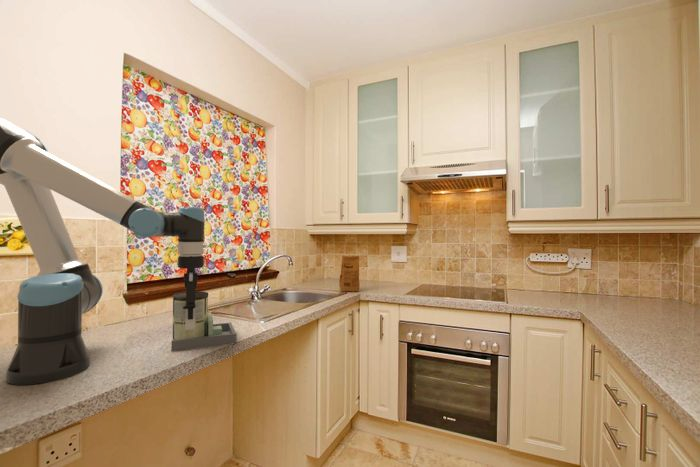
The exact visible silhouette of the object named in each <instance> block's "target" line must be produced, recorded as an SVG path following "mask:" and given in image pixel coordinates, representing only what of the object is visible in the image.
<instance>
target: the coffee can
mask: <svg viewBox="0 0 700 467" xmlns="http://www.w3.org/2000/svg"><path fill="white" fill-rule="evenodd" d="M188 304H190V303H188ZM195 304H196V306H195V329H193V330H185V309H183V306H185V305H186V291H183V292H177V293H174V294H172V339H171V341H172V340H176V339H185V338H195V337H204V336H208V335H207V334H208V333H207V330H208V312H209V310H208V309H209V292H207V291H199V290H198V291H196V290H195Z"/></svg>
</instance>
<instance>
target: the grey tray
mask: <svg viewBox="0 0 700 467" xmlns="http://www.w3.org/2000/svg"><path fill="white" fill-rule="evenodd" d="M213 326H221V327H222V335H213V336H204V337H195V338H185V339H176V340H172V339H171V350H170V351H171V352H176V351H182V350H183V351H185V350H193V349H200V348H201V349H202V348H209V347H217V346H225V345H233V344H237V333H236V331H235V328H234V325H233V322H222V323H213Z"/></svg>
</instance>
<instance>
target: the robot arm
mask: <svg viewBox="0 0 700 467" xmlns="http://www.w3.org/2000/svg"><path fill="white" fill-rule="evenodd" d="M0 185H3V186H4V188H5V191H6V193H7V195H8V197H9V200H10V203H11V204H12V207H13V210H14V212H15V214H16V217H17V219H18V221H19V223H20V226H21V228H22V231H23V233H24V235H25V237H26V240H27V242H28V244H29V246H30V249H31V251H32V254H33V256H34V259H35V261H36V263H37V266H38V268H39V272H38V273H37V275H36V276H32V277H29V278H26V279H25V280H23V281H22V282H21V283H20V284H19V288H18V294H17V300H18V301H17V302H18V304H17V306H18V307H17V308H18V309H17V310H18V311H17V312H18V313H17V346H16V348H15V351H14V352H13V355H12V357H11V360H10V362H9V365H8V367H7V369H6V374H5V377H6V378H5V380H6V381H5V382H6V383H8V384H11V385H18V386H19V385H20V386H21V385H22V386H24V385H25V386H26V385H36V384H42V383H49V382H52V381H57V380H61V379H64V378H68V377H71V376H73V375H76V374H79V373H81V372H82V371H83V372H84V370H86V369H87V368H88V367H89V366H90V361H91V360H90V359H91V358H90V353H89V350H88V348H87V346H86V344H85V341H84V338H83V335H82V329H83V327H82V326H83V323H82V322H83V314H85V313H88V312H89V311H91V310H92V309H94V307H95V306H96V305H97V304H98V303H99V301H100V300H101V298H102V296H103V290H104V289H103V284H102V282H101V280H100V279H99V278H98V276H95V275H94V274H93V273H92V270H91V268H90V265H89V264H88V262H86V261H84V260H82V259H80V258H79V256H78V252H77V251H76V248H75V246H74V243H73V241H72V239H71V236H70V234H69V232H68V229H67V227H66V224H65V221H64V220H63V217H62V214H61V212H60V210H59V207H58V205H57V203H56V200H55V196H54V194H53V193H52V191H53V192H55V193H57V194H59V195H61V196H63V197H64V198H67V199H68V200H70V201H73V202H74V203H77V204H78V205H81V206H83V207H84V208H86V209H88V210H91V211H93V212H95V213H96V214H99V215H101V216H103V217H105V218H106V219H109V220H111V221H112V222H114V223H116V224H118V225H120V226H122V227H124V228H126V229H128V230H130V231H131V232H132V233H133V235H134V236H136V237H141V238H147V239H149V238H154V237H158V238H160V237H162V238H163V237H173V238H175V237H177V238H178V241H177V255H179V256H178V257H177V268H179V269H182V270H183V269H186V272H184V274H183V280H184V288H185V290H186V291H185V292H186V305H185V306H183V309H185V330H193V329H195V306H196V304H195V291H196V288H197V285H198V278H199V274H198V272H196V269H201V268H204V266H205V256H204V254H205V248H207V244H205V224H206V223H205V210H204V209H203V208H202V207H199V206H180V207H178V210H177V212H162V211H160V212H159V211H157V210H155V209H153V208H151V207H149V206H147V205H145V204H144V203H142V202H140V201H138V200H136V199H134V197H133V198H132V197H131V196H129V195H127V194H125V193H124V192H121V191H120V190H118V189H116V188H114V187H112V186H111V185H109V184H106V183H105V182H103V181H101V180H100V179H97V178H96V177H93V176H92V175H90V174H88V173H86V172H84V171H82V170H81V169H79V168H77V167H76V166H73V165H71V164H70V163H68V162H66V161H65V160H63V159H60V158H58V157H57V156H55V155H53V154H52V153H49V151H48V148H47V146H46V145H45V144H44V143H43V142H42V141H41V140H40V138H38V137H37V136H36V135H34V134H33V133H31V132H29V131H27V130H24V129H22V128H20V127H19V126H17V125H15V124H13V123H12V122H11V121H8V120H6V119H4V118H2V117H0ZM188 303H190V304H188Z"/></svg>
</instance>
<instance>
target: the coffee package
mask: <svg viewBox="0 0 700 467" xmlns="http://www.w3.org/2000/svg"><path fill="white" fill-rule="evenodd" d="M341 258H342V260H341V266H340V276H339V291H340V290H341V291H358V292H360V256H359V255H355V256H353V255H352V256H349V255H342V257H341ZM341 291H340V292H341Z"/></svg>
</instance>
